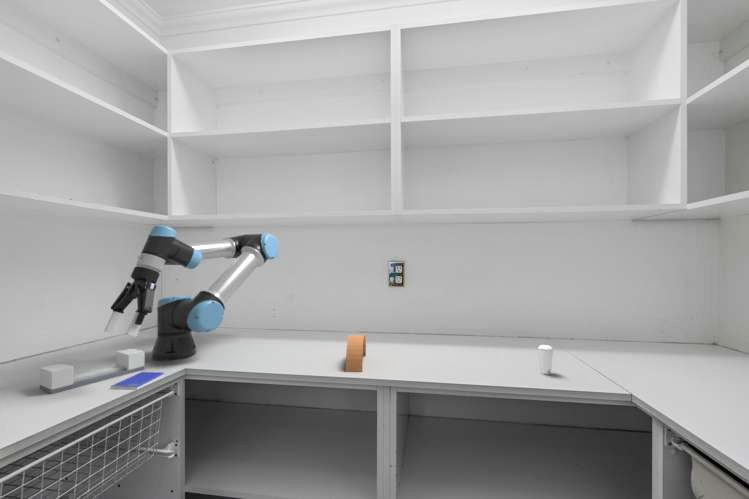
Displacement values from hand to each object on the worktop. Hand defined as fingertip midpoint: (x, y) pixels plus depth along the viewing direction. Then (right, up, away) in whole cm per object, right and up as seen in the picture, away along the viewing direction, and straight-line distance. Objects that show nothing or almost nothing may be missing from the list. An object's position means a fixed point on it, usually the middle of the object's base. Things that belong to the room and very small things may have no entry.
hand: (119, 334), depth 110 cm
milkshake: (+135, -15, +7) cm, 136 cm away
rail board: (-10, -15, +4) cm, 19 cm away
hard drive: (+5, -16, +1) cm, 17 cm away
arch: (+72, -15, +20) cm, 76 cm away
